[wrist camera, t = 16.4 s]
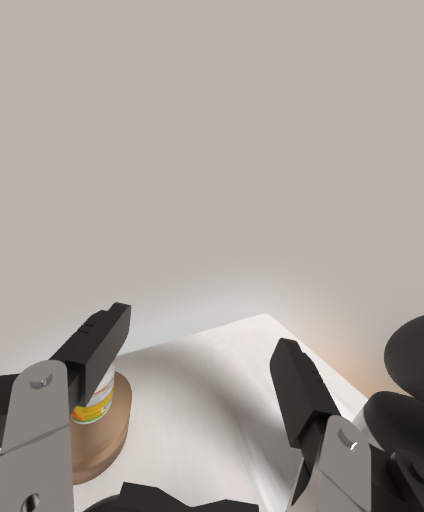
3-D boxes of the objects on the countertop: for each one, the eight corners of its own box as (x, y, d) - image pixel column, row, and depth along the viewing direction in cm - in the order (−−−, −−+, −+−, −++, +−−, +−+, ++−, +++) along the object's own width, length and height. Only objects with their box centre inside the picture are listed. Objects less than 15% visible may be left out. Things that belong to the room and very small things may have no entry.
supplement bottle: (69, 393, 30) (67, 345, 26) (110, 380, 33) (113, 335, 29) (68, 433, 26) (65, 383, 22) (114, 414, 29) (119, 367, 25)
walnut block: (124, 392, 39) (127, 362, 36) (132, 460, 30) (137, 428, 28) (52, 413, 33) (50, 380, 31) (37, 505, 25) (32, 470, 22)
